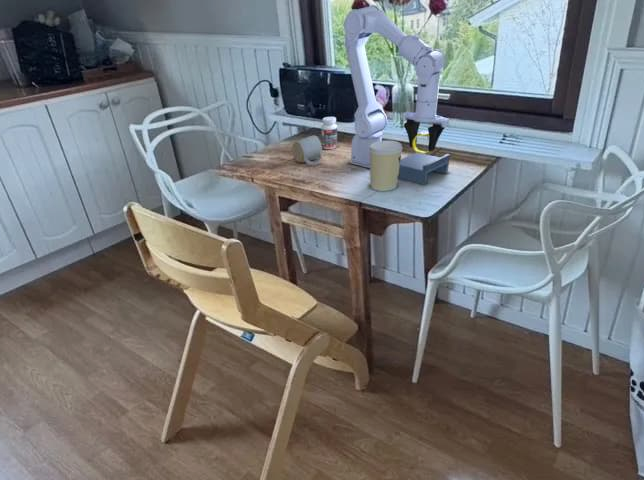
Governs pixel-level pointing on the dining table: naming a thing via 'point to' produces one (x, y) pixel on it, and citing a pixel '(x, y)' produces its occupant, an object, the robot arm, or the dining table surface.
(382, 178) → the coffee cup
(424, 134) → the watch
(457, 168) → the dining table surface
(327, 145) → the pill bottle
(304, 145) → the ceramic mug
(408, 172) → the blue stand
